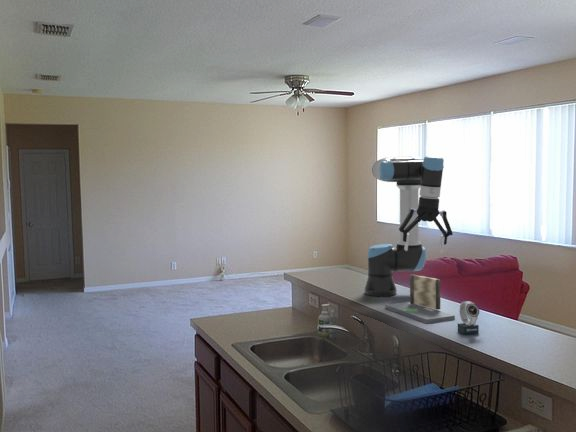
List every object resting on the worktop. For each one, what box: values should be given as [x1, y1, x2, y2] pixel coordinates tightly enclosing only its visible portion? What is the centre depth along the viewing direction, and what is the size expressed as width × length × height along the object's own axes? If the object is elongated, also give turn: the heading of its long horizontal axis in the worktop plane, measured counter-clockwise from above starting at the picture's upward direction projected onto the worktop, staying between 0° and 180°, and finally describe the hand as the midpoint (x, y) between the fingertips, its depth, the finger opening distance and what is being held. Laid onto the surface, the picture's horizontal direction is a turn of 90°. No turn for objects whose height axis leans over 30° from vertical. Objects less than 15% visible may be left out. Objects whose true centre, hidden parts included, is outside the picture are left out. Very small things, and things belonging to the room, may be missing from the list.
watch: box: [457, 300, 480, 336], centre depth 190 cm, size 6×8×11 cm
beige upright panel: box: [409, 274, 441, 311], centre depth 223 cm, size 15×3×12 cm, turn 33°
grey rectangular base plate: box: [385, 301, 456, 324], centre depth 219 cm, size 28×13×2 cm, turn 23°
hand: (423, 251), depth 211 cm, fingers open, 13 cm apart
